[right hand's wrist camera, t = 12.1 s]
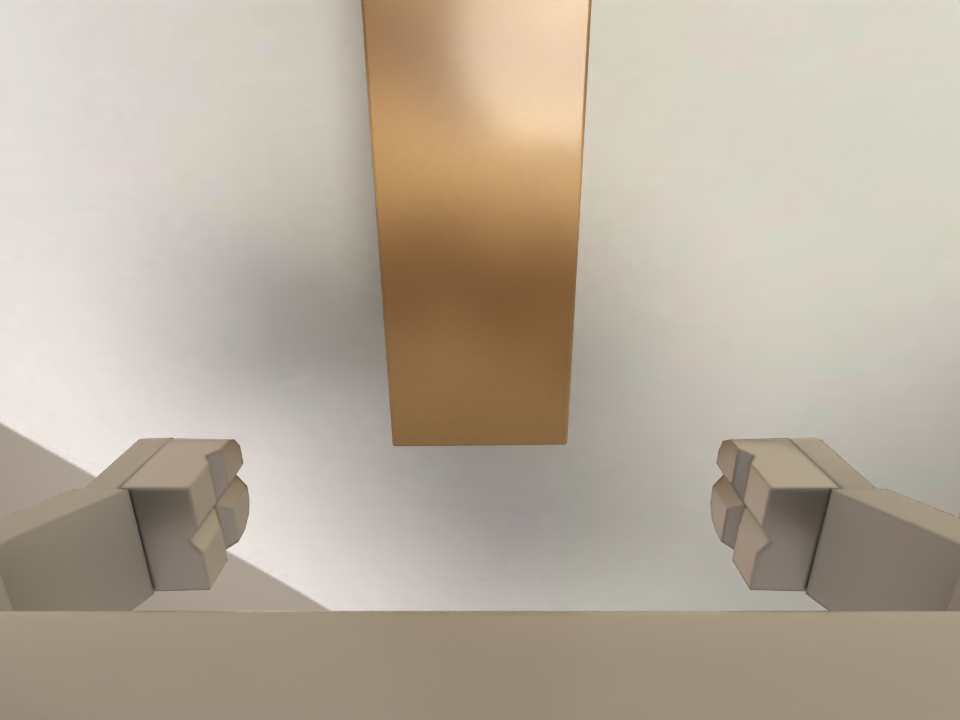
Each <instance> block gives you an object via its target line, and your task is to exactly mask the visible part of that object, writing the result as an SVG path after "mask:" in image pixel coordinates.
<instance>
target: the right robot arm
mask: <svg viewBox="0 0 960 720" xmlns="http://www.w3.org/2000/svg"><path fill="white" fill-rule="evenodd" d="M242 465H243V458H242V453H241V449H240V445H239V444H238V443H237V442H236V441H235V440H234V439H182V438H177V439H174V438H147V439H139V440H138V441H137V442H136V443H135V444H134V445H132V446H131V447H130V448H129V449H128V450H127V451H126V452H125V453H123V454H122V455H121V456H120V457H119V458H118V459H117V460H116V461H114V462H113V463H112V464H111V465H110V466H109V467H108V468H107V469H105V470H104V471H103V472H102V473H101V474H100V475H99V476H98V477H97V478H95V479H94V480H93V481H92V482H91V483H90V484H89V485H88V486H87V487H85V488H84V489H73V490H70V491H67V492H65V493H62V494H60V495H57V496H55V497H52V498H50V499H47V500H45V501H42V502H40V503H37V504H34V505H32V506H30V507H27V508H24V509H22V510H20V511H17V512H14V513H12V514H9V515H7V516H4V517H2V518H0V720H960V518H958V517H956V516H953V515H951V514H948V513H946V512H943V511H941V510H938V509H936V508H933V507H930V506H928V505H925V504H923V503H920V502H918V501H915V500H913V499H910V498H908V497H905V496H903V495H900V494H898V493H895V492H893V491H890V490H888V489H876V488H875V487H874V486H873V485H871V484H870V483H869V482H868V481H867V480H866V479H865V478H864V477H862V476H861V475H860V474H859V473H858V472H857V471H856V470H855V469H853V468H852V467H851V466H850V465H849V464H848V463H847V462H846V461H845V460H843V459H842V458H841V457H840V456H839V455H838V454H837V453H836V452H834V451H833V450H832V449H831V448H830V447H829V446H828V445H827V444H825V443H824V442H823V441H822V440H820V439H816V438H793V439H789V438H776V439H734V440H725V441H723V442H722V444H721V446H720V449H719V452H718V458H717V465H718V466H719V468H720V469H721V471H722V473H723V474H724V475H723V476H722V477H721V478H720V479H719V480H718V481H717V482H716V483H715V484H714V485H713V488H712V496H711V514H712V521H713V524H714V528H715V531H716V533H717V534H718V536H719V538H720V540H721V542H723V543H724V544H726V545H728V546H729V547H731V548H733V549H734V554H733V562H734V564H735V565H736V567H737V569H738V570H739V572H740V574H741V575H742V577H743V579H744V580H745V582H746V584H747V585H748V587H749V589H750V590H777V591H806V594H807V595H808V596H810V597H811V598H812V599H814V600H815V601H816V602H818V603H819V604H820V605H822V606H823V607H825V608H826V609H827V610H829V611H132V610H133V609H134V608H136V607H137V606H138V605H140V604H141V603H142V602H144V601H145V600H147V599H148V598H149V597H151V596H152V595H153V594H154V591H182V590H210V589H211V587H212V585H213V584H214V582H215V580H216V579H217V577H218V575H219V574H220V572H221V570H222V569H223V567H224V565H225V564H226V562H227V554H226V549H227V548H229V547H231V546H232V545H234V544H236V543H237V542H239V540H240V538H241V536H242V534H243V533H244V531H245V528H246V524H247V520H248V515H249V494H248V488H247V485H246V484H245V483H244V482H243V481H242V480H241V479H240V478H239V477H238V476H237V475H236V474H237V473H238V471H239V469H240V468H241V466H242Z"/></svg>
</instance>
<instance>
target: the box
mask: <svg viewBox="0 0 960 720" xmlns="http://www.w3.org/2000/svg"><path fill="white" fill-rule="evenodd" d="M591 2H592V0H361V5H362V19H363V34H364V48H365V62H366V76H367V90H368V104H369V118H370V132H371V146H372V160H373V174H374V188H375V202H376V216H377V230H378V244H379V258H380V272H381V286H382V301H383V315H384V329H385V343H386V357H387V371H388V385H389V399H390V413H391V427H392V441H393V445H394V446H453V445H558V444H566V443H567V436H568V418H569V399H570V381H571V363H572V345H573V327H574V309H575V291H576V273H577V255H578V237H579V219H580V201H581V183H582V164H583V146H584V128H585V110H586V92H587V74H588V56H589V38H590V20H591Z"/></svg>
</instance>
